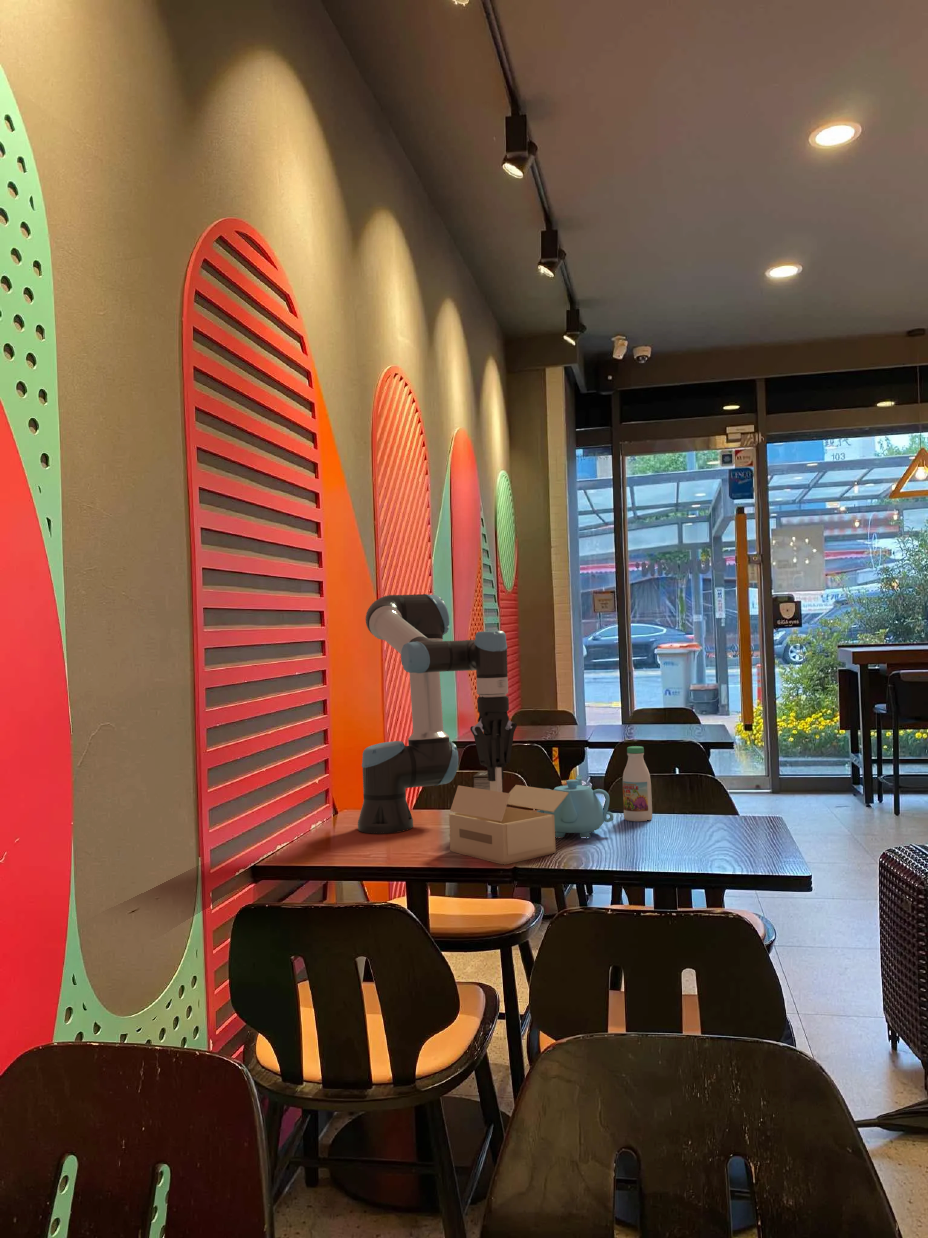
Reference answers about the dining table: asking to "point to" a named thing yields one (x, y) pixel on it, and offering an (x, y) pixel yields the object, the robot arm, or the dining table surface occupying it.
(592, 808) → the teapot
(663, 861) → the dining table surface
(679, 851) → the dining table surface
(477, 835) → the carton
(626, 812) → the milk bottle
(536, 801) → the far flap
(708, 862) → the dining table surface
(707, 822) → the dining table surface
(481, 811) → the near flap
